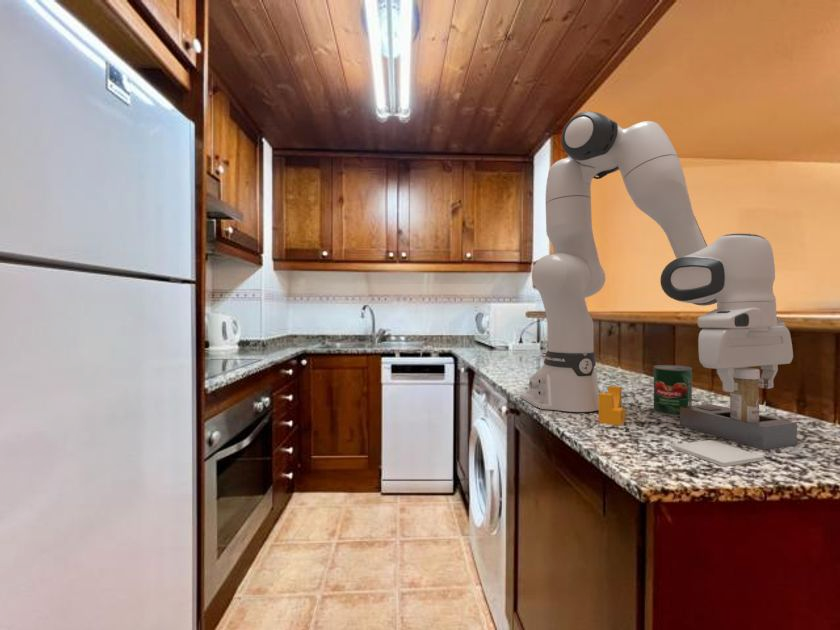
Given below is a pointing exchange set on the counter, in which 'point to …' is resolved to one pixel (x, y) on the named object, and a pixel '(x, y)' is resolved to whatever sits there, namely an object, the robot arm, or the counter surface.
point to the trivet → (718, 453)
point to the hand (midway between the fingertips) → (748, 389)
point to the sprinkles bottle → (745, 395)
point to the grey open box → (739, 427)
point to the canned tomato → (672, 389)
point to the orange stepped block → (611, 407)
